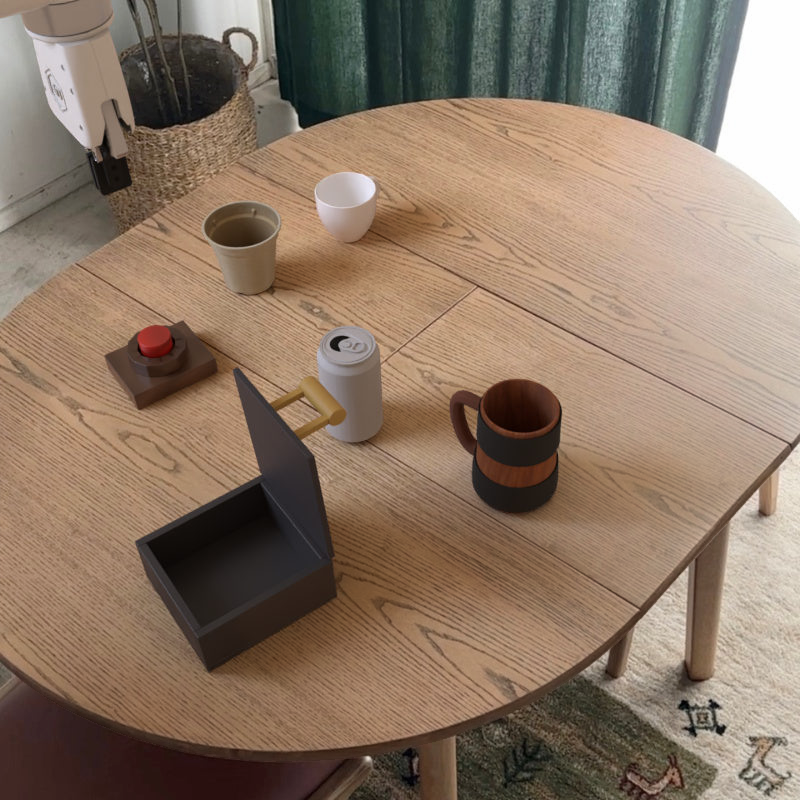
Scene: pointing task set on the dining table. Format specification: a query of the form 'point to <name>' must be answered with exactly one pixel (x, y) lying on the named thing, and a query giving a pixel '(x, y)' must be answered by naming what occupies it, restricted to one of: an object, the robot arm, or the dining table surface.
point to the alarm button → (155, 341)
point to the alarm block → (161, 366)
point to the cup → (347, 204)
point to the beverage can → (352, 381)
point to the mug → (511, 443)
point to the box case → (236, 571)
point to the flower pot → (244, 244)
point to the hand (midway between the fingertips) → (114, 186)
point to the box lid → (291, 450)
